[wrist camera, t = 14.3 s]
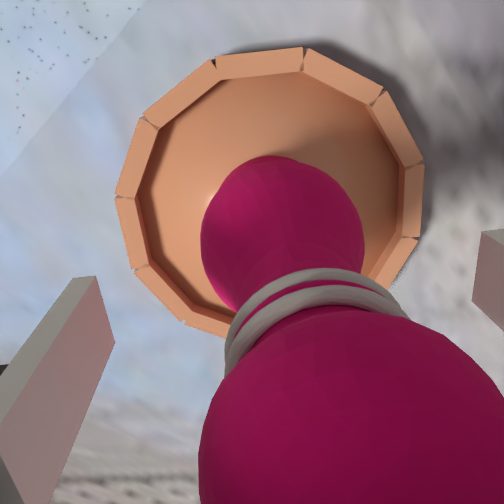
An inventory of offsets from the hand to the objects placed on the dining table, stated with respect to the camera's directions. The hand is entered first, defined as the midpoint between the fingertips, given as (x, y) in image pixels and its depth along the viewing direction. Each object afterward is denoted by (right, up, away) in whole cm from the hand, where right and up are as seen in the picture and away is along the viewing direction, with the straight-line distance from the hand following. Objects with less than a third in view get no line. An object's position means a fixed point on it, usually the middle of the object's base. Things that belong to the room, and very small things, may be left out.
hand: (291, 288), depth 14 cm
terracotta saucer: (0, +4, +9) cm, 10 cm away
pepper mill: (0, +3, +8) cm, 9 cm away
